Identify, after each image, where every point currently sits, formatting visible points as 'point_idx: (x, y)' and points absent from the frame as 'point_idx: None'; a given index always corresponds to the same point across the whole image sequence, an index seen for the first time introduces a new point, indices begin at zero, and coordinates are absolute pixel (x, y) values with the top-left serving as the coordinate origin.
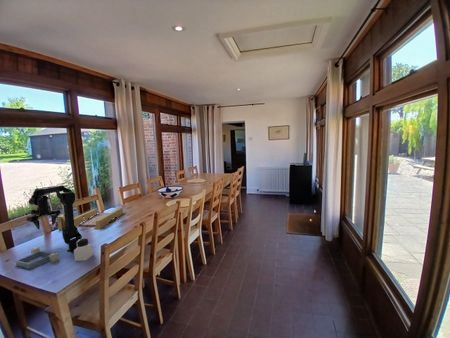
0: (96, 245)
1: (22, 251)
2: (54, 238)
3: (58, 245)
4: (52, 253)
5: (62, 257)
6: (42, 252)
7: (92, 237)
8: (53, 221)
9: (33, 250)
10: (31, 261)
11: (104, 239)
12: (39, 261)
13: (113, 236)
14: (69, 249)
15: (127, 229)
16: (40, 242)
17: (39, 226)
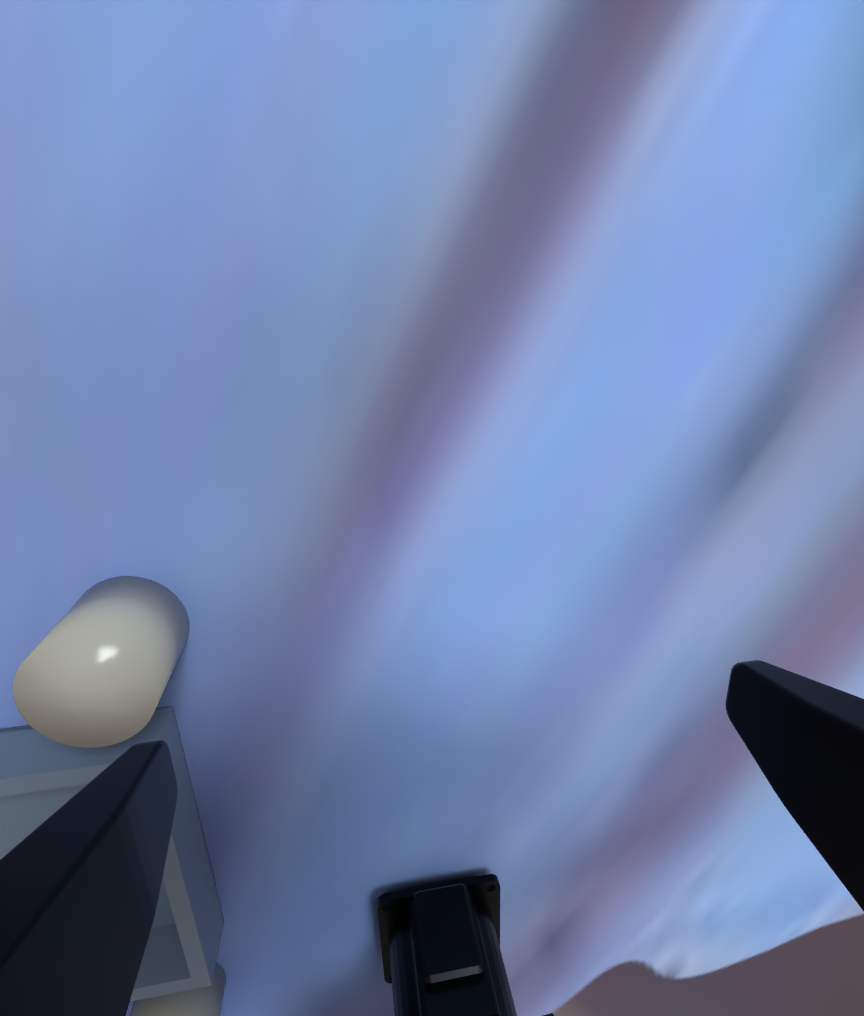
0: (605, 959)
1: (38, 182)
2: (693, 105)
3: (478, 571)
4: (200, 966)
5: (275, 961)
6: None
7: None
8: (858, 876)
9: (46, 725)
10: (2, 811)
11: (753, 891)
12: None
13: (836, 895)
14: (391, 947)
15: None
16: (462, 7)
17: (126, 989)
